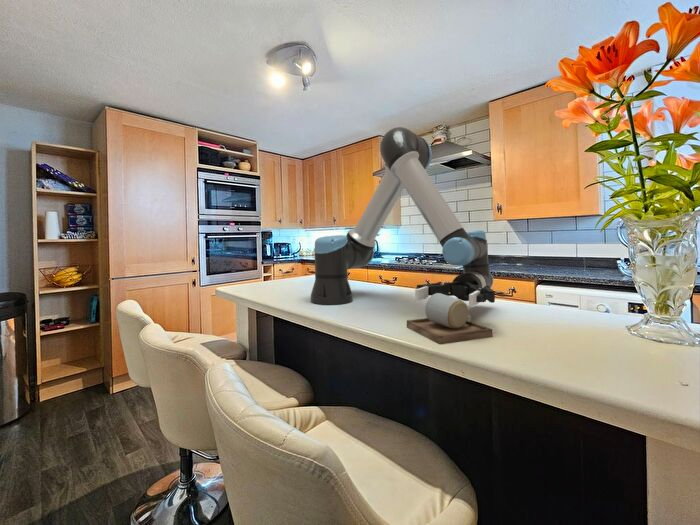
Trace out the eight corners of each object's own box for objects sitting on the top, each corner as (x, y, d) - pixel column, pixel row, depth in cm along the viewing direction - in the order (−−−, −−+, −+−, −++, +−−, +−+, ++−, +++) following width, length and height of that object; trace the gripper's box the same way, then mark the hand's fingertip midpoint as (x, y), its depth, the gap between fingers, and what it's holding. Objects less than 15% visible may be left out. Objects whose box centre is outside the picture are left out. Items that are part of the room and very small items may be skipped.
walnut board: (406, 326, 81) (406, 320, 81) (452, 321, 85) (452, 315, 85) (439, 344, 68) (439, 336, 67) (492, 336, 72) (492, 329, 72)
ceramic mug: (449, 332, 71) (449, 300, 71) (425, 324, 78) (424, 295, 77) (480, 324, 76) (479, 294, 76) (454, 317, 83) (453, 289, 82)
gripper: (515, 303, 84) (499, 321, 66) (427, 295, 98) (394, 308, 80) (516, 275, 83) (500, 285, 66) (427, 270, 97) (394, 278, 80)
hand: (442, 298), depth 73 cm, fingers open, 12 cm apart
